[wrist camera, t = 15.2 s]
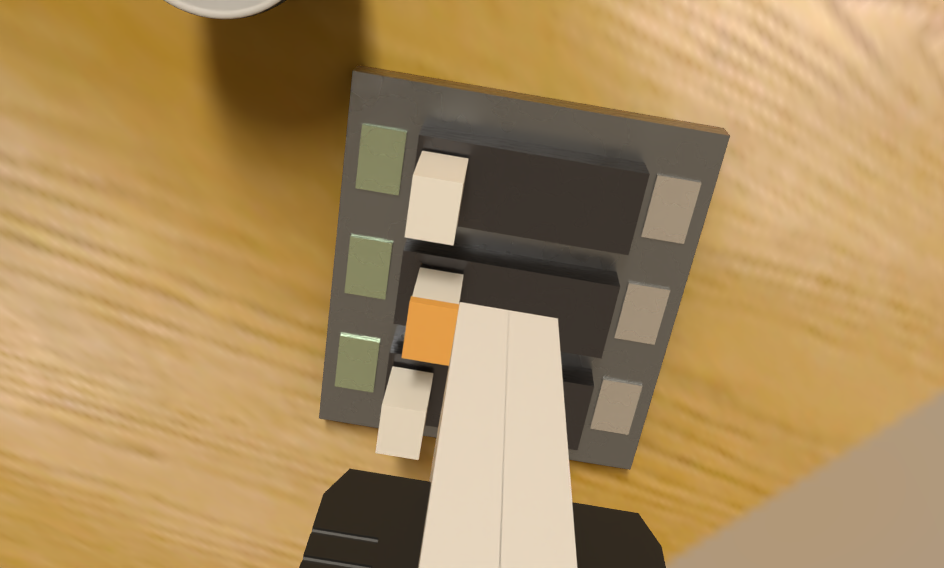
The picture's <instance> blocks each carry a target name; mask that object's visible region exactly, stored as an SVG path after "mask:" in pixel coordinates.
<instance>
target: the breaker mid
mask: <svg viewBox="0 0 944 568" xmlns="http://www.w3.org/2000/svg"><path fill="white" fill-rule="evenodd" d="M462 281H463V274H457V273H451V272H445V271H439V270H433V269H427V268H421V267H420V269H419V273H418V277H417V280H416V284H415V288H414V291H413V295H412V296H411V298H410V302H409V309H408V316H407V323H406V330H405V337H404V344H403V351H402V358H405V359H411V360H417V361H423V362H429V363H435V364H441V365H447V366H449V362H450V356H451V350H452V345H453V339H454V333H455V327H456V321H457V315H458V310H459V301H460V294H461V288H462Z"/></svg>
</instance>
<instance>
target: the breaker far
mask: <svg viewBox="0 0 944 568" xmlns="http://www.w3.org/2000/svg"><path fill="white" fill-rule="evenodd" d="M432 379H433V373H430V372H424V371H418V370H412V369H406V368H400V367H394V366H392V370H391V374H390V377H389V381H388V385H387V388H386V392H385V396H384V399H383V403H382V408H381V416H380V423H379V431H378V438H377V445H376V453H379V454H385V455H391V456H397V457H403V458H409V459H415V460H419V455H420V449H421V444H422V438H423V433H424V427H425V422H426V416H427V410H428V404H429V398H430V392H431V386H432Z"/></svg>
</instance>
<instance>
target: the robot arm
mask: <svg viewBox="0 0 944 568" xmlns="http://www.w3.org/2000/svg"><path fill="white" fill-rule="evenodd" d="M299 568H666V566H665V561H664V556H663V552H662V547H661V545H660V544H659V542H658V541H657V539H656V538H655V536H654V535H653V534H652V532H651V531H650V529H649V528H648V526H647V525H646V524H645V522H644V521H643V519H642V518H641V516H640V515H639V514H638V513H634V512H628V511H622V510H616V509H609V508H603V507H597V506H591V505H585V504H579V503H573V502H572V494H571V481H570V468H569V455H568V442H567V429H566V417H565V404H564V391H563V378H562V365H561V352H560V340H559V327H558V318H552V317H546V316H540V315H534V314H528V313H522V312H516V311H510V310H504V309H498V308H492V307H486V306H481V305H475V304H469V303H463V302H460V304H459V310H458V315H457V321H456V327H455V333H454V339H453V345H452V350H451V356H450V362H449V368H448V374H447V379H446V385H445V391H444V397H443V403H442V409H441V414H440V420H439V426H438V432H437V438H436V444H435V449H434V456H433V462H432V468H431V475H430V481H429V482H428V481H422V480H415V479H409V478H403V477H397V476H391V475H385V474H379V473H373V472H367V471H361V470H354V469H349V470H348V471H347V472H346V473H345V474H344V475H343V476H342V477H341V478H340V479H339V480H338V481H337V482H336V483H334V484H333V485H332V486H331V487H330V488H329V489H328V490H327V491H326V492H325V493H324V494H323V497H322V500H321V503H320V506H319V509H318V512H317V515H316V518H315V522H314V525H313V528H312V533H311V534H310V537H309V540H308V543H307V546H306V549H305V552H304V556H303V560H302V562H301V564H300V567H299Z"/></svg>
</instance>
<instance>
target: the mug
mask: <svg viewBox="0 0 944 568" xmlns="http://www.w3.org/2000/svg"><path fill="white" fill-rule="evenodd" d="M164 1H166V2H167V3H169V4H171V5H173V6H174V7H176V8H178V9H181V10H183V11H186V12H188V13H191V14H194V15H198V16H202V17H207V18H214V19H238V18H245V17H249V16H253V15H257V14H259V13H262V12H265V11H268V10H270V9H272V8H274V7H276V6H278V5H280V4H281V3H283V2H285V1H286V0H164Z"/></svg>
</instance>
